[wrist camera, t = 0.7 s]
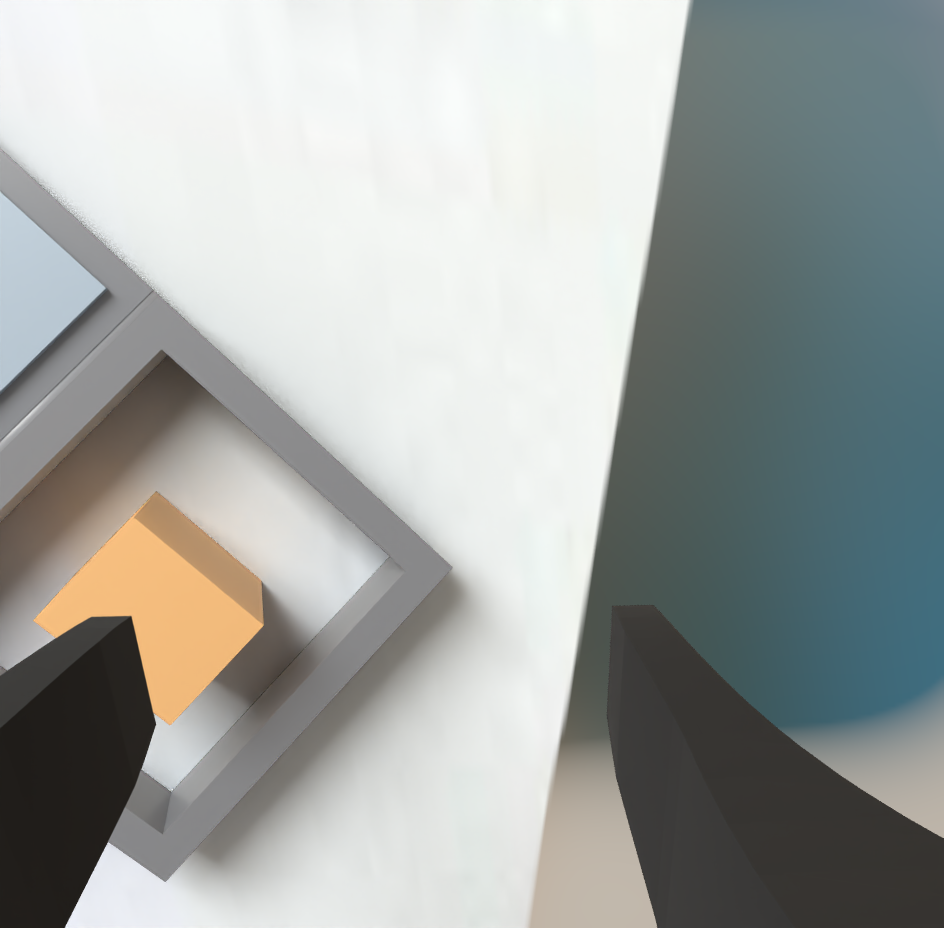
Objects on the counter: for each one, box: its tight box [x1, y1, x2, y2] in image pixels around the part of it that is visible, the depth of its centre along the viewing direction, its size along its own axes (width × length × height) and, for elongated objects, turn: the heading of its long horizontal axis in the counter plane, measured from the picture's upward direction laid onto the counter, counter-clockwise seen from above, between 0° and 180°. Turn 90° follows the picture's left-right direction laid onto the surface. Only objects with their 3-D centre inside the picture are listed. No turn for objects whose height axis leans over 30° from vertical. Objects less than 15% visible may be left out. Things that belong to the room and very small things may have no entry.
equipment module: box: [33, 491, 264, 725], centre depth 27 cm, size 4×5×6 cm
